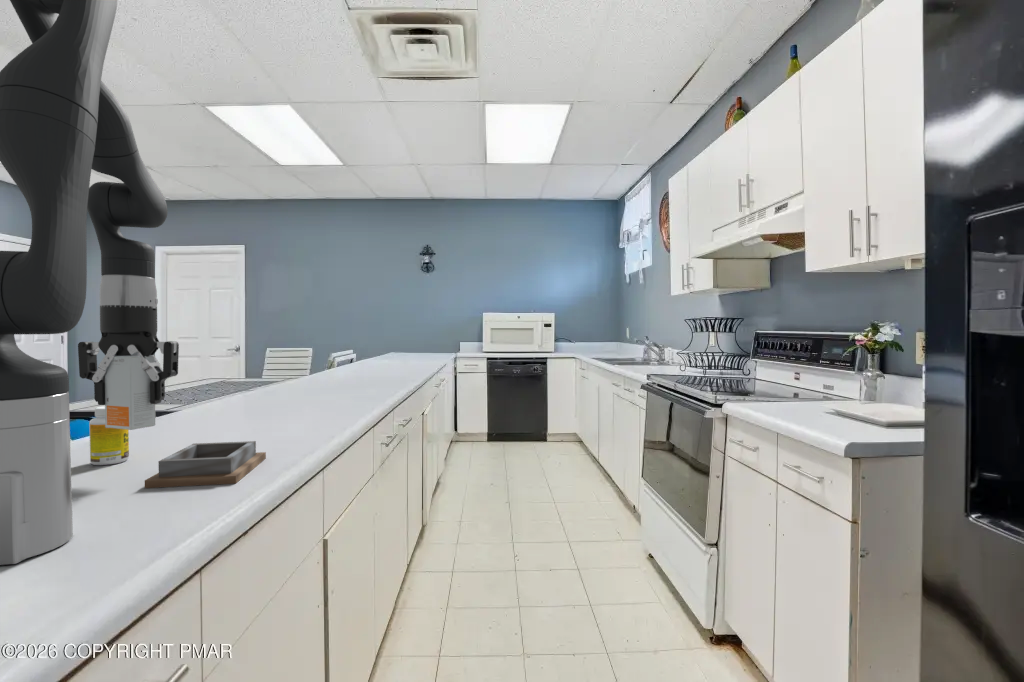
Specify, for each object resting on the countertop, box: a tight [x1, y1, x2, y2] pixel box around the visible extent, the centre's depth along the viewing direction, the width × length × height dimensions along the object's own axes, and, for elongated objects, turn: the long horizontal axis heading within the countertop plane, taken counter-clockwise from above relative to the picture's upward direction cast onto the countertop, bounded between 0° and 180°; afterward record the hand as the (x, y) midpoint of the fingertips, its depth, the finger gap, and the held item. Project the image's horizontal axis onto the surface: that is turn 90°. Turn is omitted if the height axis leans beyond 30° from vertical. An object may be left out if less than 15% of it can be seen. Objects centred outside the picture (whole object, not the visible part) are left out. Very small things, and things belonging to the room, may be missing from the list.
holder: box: [144, 440, 267, 489], centre depth 84 cm, size 15×13×4 cm
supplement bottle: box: [88, 405, 130, 466], centre depth 90 cm, size 6×6×10 cm
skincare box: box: [104, 354, 156, 431], centre depth 82 cm, size 6×4×12 cm
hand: (130, 403), depth 82 cm, fingers closed on skincare box, 7 cm apart
